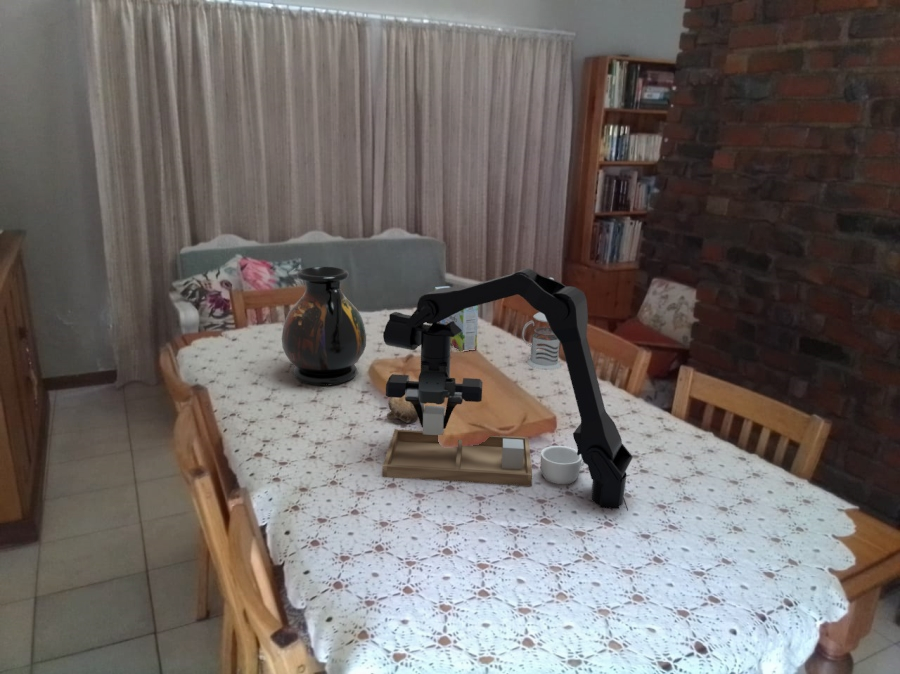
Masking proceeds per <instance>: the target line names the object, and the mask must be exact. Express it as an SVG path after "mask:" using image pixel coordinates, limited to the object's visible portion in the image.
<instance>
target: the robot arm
mask: <svg viewBox="0 0 900 674" xmlns="http://www.w3.org/2000/svg"><path fill="white" fill-rule="evenodd" d="M550 278H551V277H547V276H544V275H542V274H541V273H538V272H536V271H535V270H533V269H532V268H528V267H526V268H523V269H521V270H519V271H516V272H514V273H511V274H506V275H504V276H499V277H496V278H493V279H489V280H486V281H483V282H478V283H476V284H472V285H468V286H461V287H460V286H449V287H448V288H439V289H437V290H435V289H434V290H432V291H430V292H428V293H427V292H426V294H423V295H421V297H419V299H418V302H417V307H416V309H415V311H414V312H412V314H411V315H410V314H403V313H402V312H399V311H398V312H397V311H394V312H391V313H390V314H389V315H388V316H389V319H388V321H387V322H386V324H385V327H384V331H383V334H382V336H383V342H384V344H385V345H387V347H388V346H390V347H394V348H399V349H405V350H408V351H409V350H410V351H414V350H417V348H418V347H420V373H419V375H418V381H415V380H410V375H409V374H396V373H395V374H391V375H390V376H389V377H388V379H387V382H386V384H385V397H387V398H391V397H396V398H402V397H403V396H404V395H405V396H406V397H405V401H408V402H411V403H412V404H413V406H414V408H415V410H416V412H417V415H418V420H419V423H420V426H421V428H422V429H423V412H424V408H425V405H424V404H436V405H442V404H444V403H445V399H446V398H447V401H446V406H445V417H444V430H445V429H446V428H447V425H448V423H449V420H450V417H451V415H452V413H453V410H454V409H455V407H456V406H457V405H462V404H463V402H474V403H475V402H476V403H479V402H482V401H483V399H482V398H483V381H482V379H480V378H469V377H462V378H463V379H462V383H460V382H459V383H458V382H456V378H455V377H450V374H451V372H450V371H451V346H452V344H451V337H454V336H456V335H458V334H459V333H461V332H462V330H461V329H460V328H459V327H458V326H457V325H456V324H455V322H454V321H452V322H450V323H448V324H442V323H437V322H439V321H441V320H443V319H445V318H447V317H449V316H451V315H453V314H455V313H457V312H459V311H461V310H463V309H466V308H469V307H473V306H477V305H478V306H480V305H484V304H487V303H490V302H494V301H498V300H502V299H506V298H509V297H513V296H517V295H518V296H520V297H522V299H524V300H525V302H527V303H528V304H529V305H530V306H531V307H532V308H533V309H535V310H536V311H538V312H541V313H543V314H544V315H545V317H546V319H547V322H548V326H549V328H551V331H552V332H553V333H554V335H555V336H556V337H557V339H558V340H559V341H560V345H561V348H562V351H563V356H564V358H565V359H564V360H565V362H566V367H567V371H568V374H569V378H570V382H571V386H572V389H573V393H574V397H575V401H576V405H577V409H578V414H579V417H580V423H579V425H578V426H577V427H576V429H575V430H574V432H573V433H572V437H573V440H574V442H575V444H576V448H577V449H576V450H577V455H580V454H581V457H582V462H583V461H584V463H585V464H584V465H587V468H588V471H589V474H590V478H591V480H592V484H591V485H592V487H591V494H590V499H591V500H592V501H593V503H595V504H596V505H597V506H599V508H601V509H611V510H612V509H613V510H619V509H620V506H622V505H623V504H624V505H625V508H626V511H627V512H628V511H629V509H628V506H627V503H626V499H625V492H626V491H625V490H626V483H627V482H626V481H627V472H626V471H627V470H628V467H629V466H630V464H631V462H632V460H633V458H634V457H633V455H632V454H631V452H630V451H629V450H628V449H627V448H626V446H625V445H624V444H623V442H622V441H623V440H622V437H621V434H620V432H619V430H618V428H617V426H616V422H614V420H613V419H612V417H610V415H609V413H608V412H607V411H606V408H605V403H604V399H603V397H602V392H601V388H600V385H599V381H598V380H599V379H598V377H597V372H596V368H595V364H594V359H593V357H592V352H591V349H590V344H589V340H588V334H587V333H588V323H589V322H588V321H589V316H588V315H589V314H588V313H589V311H588V304H587V303H588V301H587V297H586V294H585V293H584V291H583V290H581V289H580V288H577V287H575V286H569V285H568V286H566V285H565V284H564V283H562V282H560V281H558V280H555V279H554V278H553V279H554V280H553V279H550ZM547 322H546V323H547ZM425 323H426V324H425ZM463 400H464V401H463Z"/></svg>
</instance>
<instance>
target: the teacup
mask: <svg viewBox="0 0 900 674" xmlns="http://www.w3.org/2000/svg"><path fill="white" fill-rule="evenodd" d="M577 451H578V449H575V448H573V447H570V446H565V445H551V446H547V447H545V448H543V449H542V450H541V451H540V472H541V474H542V476H543V478H544V479H545V480H546V481H547V482H550V483H552V484H556V485H568V484H572V483H573V482H575V481H576V480H577V478H578V477H579V473H580V470H581V468H582V467H583V466H584V465H586V464H585V463H584V461H583V459H582V457H581V454H580V455H577Z"/></svg>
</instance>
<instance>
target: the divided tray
mask: <svg viewBox="0 0 900 674" xmlns="http://www.w3.org/2000/svg"><path fill="white" fill-rule="evenodd" d="M503 438H504V439H521V440H523V445H524V453H523V467H522V470H520V469H504V468H502V445H503ZM530 447H531V446H530V439H529V437H528V436H513V435H500V436H490V437H489V438H488V439H487V440H486V441H485V442H482V443H481V444H479V445H473V446H462V440H458V447H453V448H444V447H442V446H441V445H440V444H439V442H438V435H426V434H423V430H411V429H398V428H397V429H395V428H394V430H393V434H392V436H391V440H390V442H389V445H388V449H387V451H386V455H385V458H384V461H383V463H382V477H383V478H395V479H396V478H398V479H399V478H400V479H411V480H412V479H413V480H427V481H428V480H429V481H444V482H445V481H446V482H458V483H459V482H463V483H477V484H478V483H479V484H493V485H506V486H507V485H509V486H524V487H525V486H526V487H527V486H528V487H532V486H533V467H532V459H531V449H530Z"/></svg>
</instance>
